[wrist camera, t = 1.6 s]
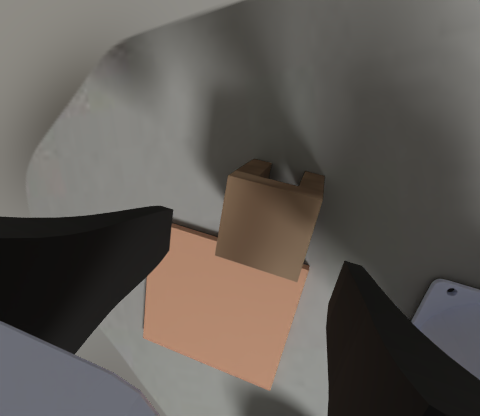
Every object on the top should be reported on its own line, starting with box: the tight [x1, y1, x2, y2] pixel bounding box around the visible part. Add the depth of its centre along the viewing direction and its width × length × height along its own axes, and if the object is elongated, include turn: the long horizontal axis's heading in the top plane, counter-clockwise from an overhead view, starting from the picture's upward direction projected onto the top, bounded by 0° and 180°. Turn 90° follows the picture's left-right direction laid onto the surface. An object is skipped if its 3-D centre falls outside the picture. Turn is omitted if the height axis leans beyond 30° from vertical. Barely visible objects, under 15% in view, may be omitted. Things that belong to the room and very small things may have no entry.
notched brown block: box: [215, 159, 325, 282], centre depth 16 cm, size 4×4×5 cm
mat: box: [143, 223, 309, 391], centre depth 22 cm, size 12×12×1 cm
